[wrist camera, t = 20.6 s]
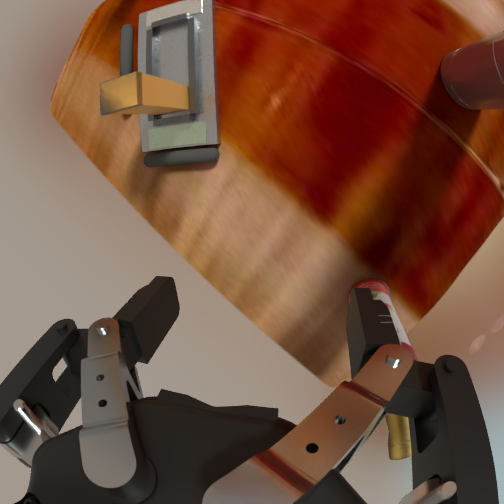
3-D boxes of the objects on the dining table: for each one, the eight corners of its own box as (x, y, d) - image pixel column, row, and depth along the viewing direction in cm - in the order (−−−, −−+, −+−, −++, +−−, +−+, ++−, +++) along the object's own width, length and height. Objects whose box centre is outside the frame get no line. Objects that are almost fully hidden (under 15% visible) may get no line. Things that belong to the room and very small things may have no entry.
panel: (220, 143, 37) (214, 144, 34) (147, 151, 39) (136, 153, 36) (215, -3, 27) (208, -11, 24) (144, 16, 29) (134, 11, 26)
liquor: (384, 266, 39) (444, 425, 14) (392, 303, 42) (436, 454, 17) (341, 281, 42) (359, 450, 17) (352, 316, 44) (368, 473, 19)
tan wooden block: (189, 110, 34) (137, 104, 22) (159, 115, 34) (100, 115, 23) (188, 85, 32) (136, 71, 20) (158, 91, 33) (99, 83, 21)
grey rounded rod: (135, 110, 36) (128, 109, 34) (125, 112, 37) (118, 112, 35) (135, 24, 30) (129, 21, 28) (125, 27, 30) (119, 25, 28)
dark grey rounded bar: (220, 146, 37) (216, 147, 35) (221, 160, 38) (217, 162, 36) (147, 154, 39) (140, 155, 37) (148, 166, 40) (141, 168, 38)
